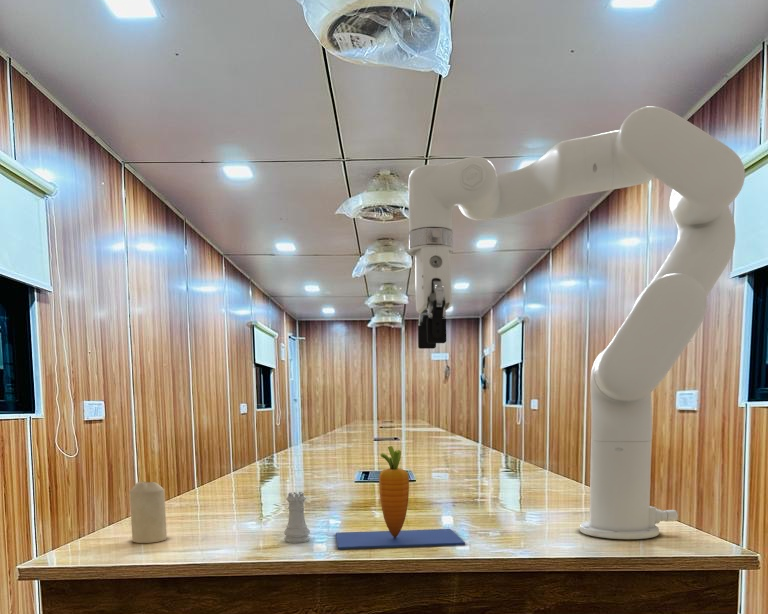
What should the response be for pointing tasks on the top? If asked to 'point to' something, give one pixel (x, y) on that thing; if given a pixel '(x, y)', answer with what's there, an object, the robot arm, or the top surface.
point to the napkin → (397, 539)
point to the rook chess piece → (296, 520)
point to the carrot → (394, 492)
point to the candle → (148, 512)
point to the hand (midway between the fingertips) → (431, 345)
